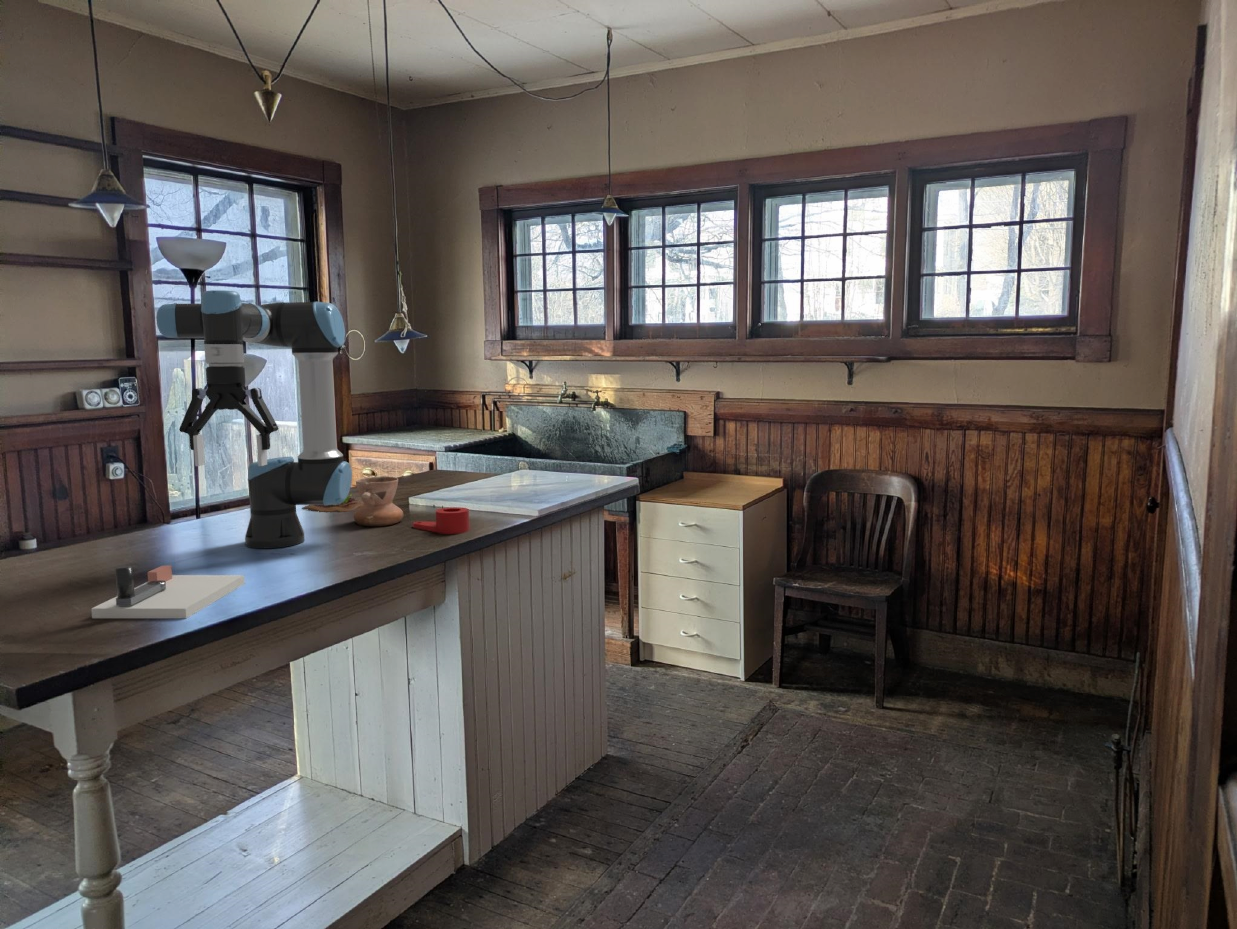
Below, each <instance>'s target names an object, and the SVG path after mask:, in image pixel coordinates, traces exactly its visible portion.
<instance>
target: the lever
mask: <svg viewBox="0 0 1237 929" xmlns="http://www.w3.org/2000/svg"><path fill="white" fill-rule="evenodd" d="M469 511H470V510H469V508H468V507H467V508H466V507H460V506H459V507H457V506H456V507H454V506H453V507H452V506H451V507H442V508H437V509H436V510H435V521H422V520H421V521H420V520H419V521H413V522H412V528H413V529H417V530H422V531H427V532H433V533H437V534H444V535H457V534H464V533H467V532H469V531H470V512H469Z"/></svg>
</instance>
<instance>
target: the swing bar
mask: <svg viewBox="0 0 1237 929" xmlns="http://www.w3.org/2000/svg"><path fill="white" fill-rule="evenodd" d="M114 569H115V570H114V572H115V584H116V597H117V598H116V606H131V605H133V604H135V603H137V602H139V601H141V600H143V599H145V598H147V597H149V596H151V595H153V594H155V593H157V592H159V591H161V590H165V589H166V581H164V580H156V581H151V582H148V581H147V582H148V583H147V584H145V585H143V586H141V587H139V588H136V587H135V584H134V571H133V566H132V565H122V566H117V567H115V568H114ZM134 588H136V589H134Z"/></svg>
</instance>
